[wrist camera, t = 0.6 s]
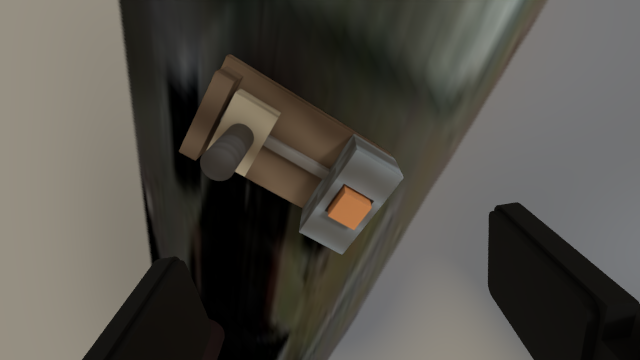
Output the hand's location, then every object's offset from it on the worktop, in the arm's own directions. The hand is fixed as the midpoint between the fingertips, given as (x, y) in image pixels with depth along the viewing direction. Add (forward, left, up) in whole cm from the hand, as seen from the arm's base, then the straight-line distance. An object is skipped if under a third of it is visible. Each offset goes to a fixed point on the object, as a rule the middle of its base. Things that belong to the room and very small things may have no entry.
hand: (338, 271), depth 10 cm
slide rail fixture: (+9, -1, -32) cm, 33 cm away
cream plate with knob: (+9, -6, -29) cm, 31 cm away
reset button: (+9, +8, -26) cm, 29 cm away
